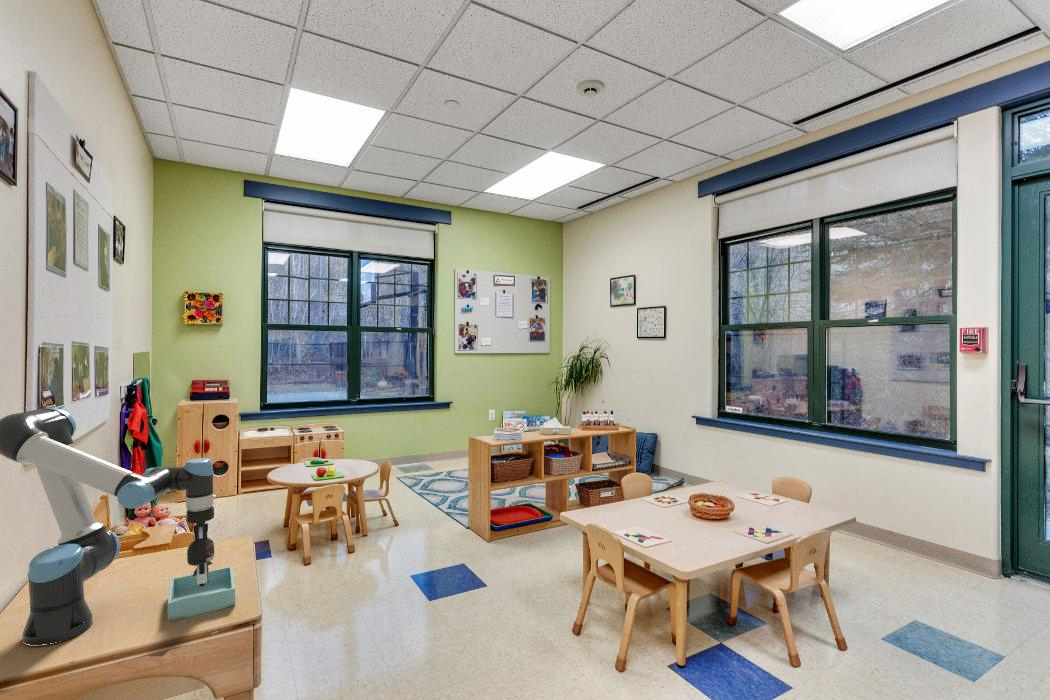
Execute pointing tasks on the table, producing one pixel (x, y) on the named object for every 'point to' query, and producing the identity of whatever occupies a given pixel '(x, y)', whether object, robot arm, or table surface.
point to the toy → (193, 555)
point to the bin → (201, 594)
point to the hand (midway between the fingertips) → (202, 577)
